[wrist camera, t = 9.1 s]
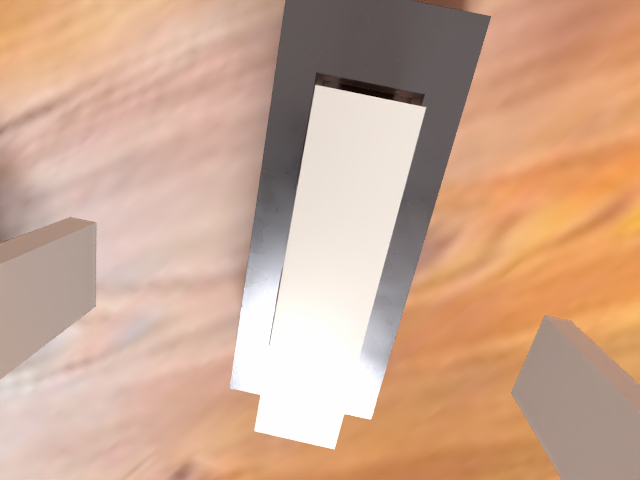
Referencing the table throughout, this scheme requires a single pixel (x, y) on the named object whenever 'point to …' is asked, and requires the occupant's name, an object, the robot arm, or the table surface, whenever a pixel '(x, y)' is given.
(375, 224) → the white arch
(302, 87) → the cinder block
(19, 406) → the table surface
